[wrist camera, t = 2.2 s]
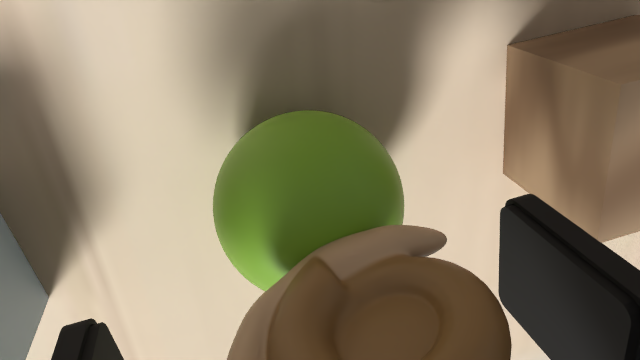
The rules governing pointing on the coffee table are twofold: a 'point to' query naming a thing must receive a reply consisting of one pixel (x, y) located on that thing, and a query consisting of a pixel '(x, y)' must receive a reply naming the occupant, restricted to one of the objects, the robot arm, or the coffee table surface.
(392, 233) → the snail figurine
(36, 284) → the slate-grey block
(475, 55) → the coffee table surface
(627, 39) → the walnut block
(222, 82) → the coffee table surface
